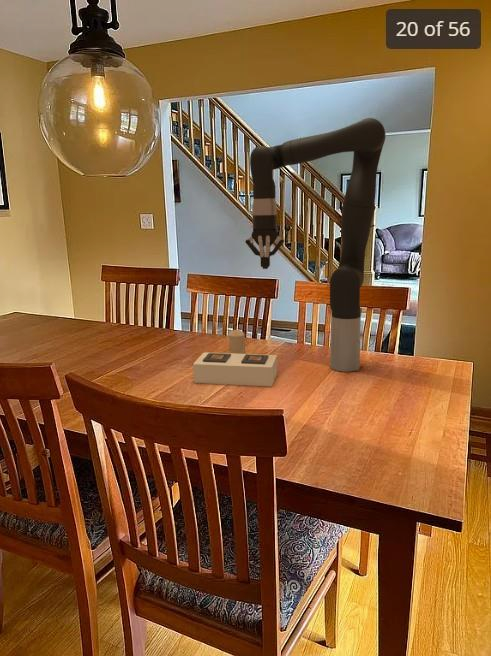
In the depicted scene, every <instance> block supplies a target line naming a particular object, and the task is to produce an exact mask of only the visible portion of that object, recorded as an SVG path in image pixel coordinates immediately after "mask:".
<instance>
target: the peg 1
mask: <svg viewBox="0 0 491 656" xmlns="http://www.w3.org/2000/svg"><path fill="white" fill-rule="evenodd" d="M224 357H225V355H212V356H211V357H210V359H223V358H224Z"/></svg>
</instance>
